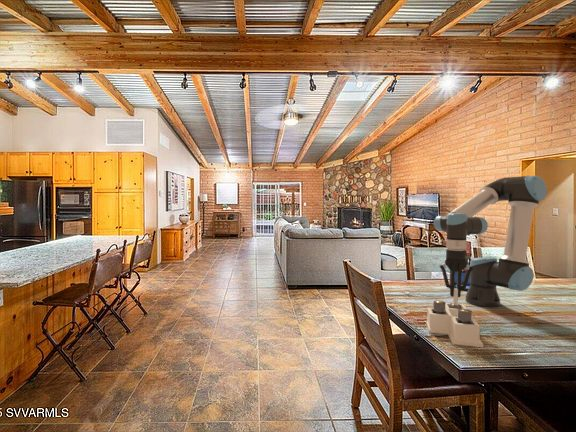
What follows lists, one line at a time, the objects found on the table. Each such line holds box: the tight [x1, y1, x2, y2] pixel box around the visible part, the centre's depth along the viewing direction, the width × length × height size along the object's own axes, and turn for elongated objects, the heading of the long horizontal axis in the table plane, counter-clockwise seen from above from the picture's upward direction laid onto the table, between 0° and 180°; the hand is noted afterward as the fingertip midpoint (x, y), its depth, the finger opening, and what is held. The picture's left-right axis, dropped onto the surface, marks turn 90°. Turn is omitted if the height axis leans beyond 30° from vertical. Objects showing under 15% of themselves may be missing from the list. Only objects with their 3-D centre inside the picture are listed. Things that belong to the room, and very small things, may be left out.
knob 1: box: [450, 302, 461, 309], centre depth 135 cm, size 4×4×6 cm
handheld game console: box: [454, 270, 470, 292], centre depth 188 cm, size 16×13×9 cm
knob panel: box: [425, 302, 484, 348], centre depth 128 cm, size 17×27×7 cm, turn 163°
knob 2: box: [458, 308, 473, 324], centre depth 119 cm, size 4×4×6 cm
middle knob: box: [432, 299, 446, 314], centre depth 129 cm, size 4×4×6 cm
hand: (455, 304), depth 135 cm, fingers closed
